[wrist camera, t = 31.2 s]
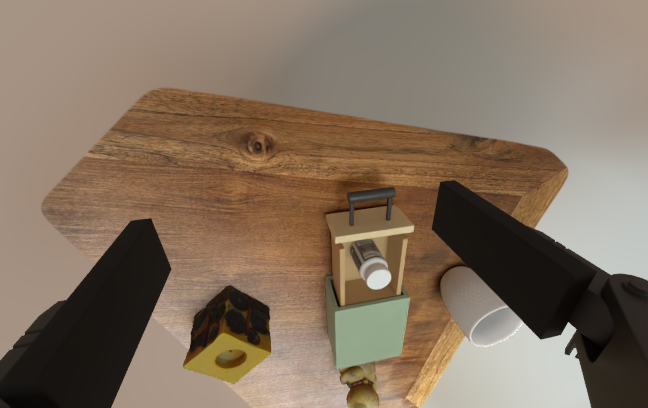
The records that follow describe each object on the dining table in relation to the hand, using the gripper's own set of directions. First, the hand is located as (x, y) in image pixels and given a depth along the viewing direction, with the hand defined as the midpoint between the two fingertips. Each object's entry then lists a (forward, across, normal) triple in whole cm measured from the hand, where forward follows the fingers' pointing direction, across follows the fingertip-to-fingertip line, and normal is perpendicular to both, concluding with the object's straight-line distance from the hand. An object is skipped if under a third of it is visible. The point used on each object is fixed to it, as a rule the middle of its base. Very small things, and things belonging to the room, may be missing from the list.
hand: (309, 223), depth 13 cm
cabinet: (+29, +12, -39) cm, 50 cm away
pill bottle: (+27, +12, -24) cm, 38 cm away
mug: (+29, +35, -37) cm, 59 cm away
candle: (+29, -13, -36) cm, 48 cm away
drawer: (+28, +12, -21) cm, 37 cm away
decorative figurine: (+29, +11, -57) cm, 65 cm away
